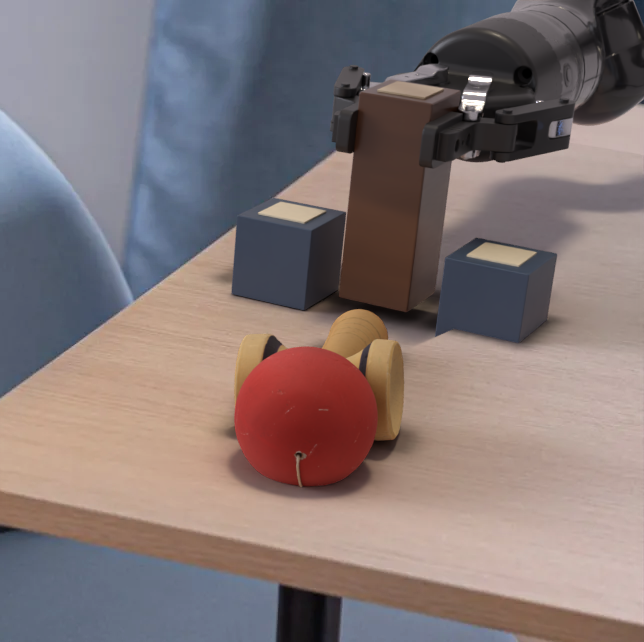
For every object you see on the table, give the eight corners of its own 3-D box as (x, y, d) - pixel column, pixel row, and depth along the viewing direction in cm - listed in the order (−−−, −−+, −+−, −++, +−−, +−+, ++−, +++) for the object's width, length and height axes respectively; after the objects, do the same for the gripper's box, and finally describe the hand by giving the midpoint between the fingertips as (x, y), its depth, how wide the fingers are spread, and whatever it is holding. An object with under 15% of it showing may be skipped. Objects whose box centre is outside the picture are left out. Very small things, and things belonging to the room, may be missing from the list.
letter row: (230, 294, 98) (236, 213, 96) (267, 274, 101) (273, 195, 99) (516, 358, 90) (529, 272, 88) (544, 334, 94) (558, 251, 92)
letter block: (367, 278, 98) (390, 76, 93) (435, 293, 96) (461, 88, 91) (337, 297, 95) (359, 89, 90) (407, 313, 93) (432, 101, 88)
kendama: (261, 379, 90) (180, 470, 73) (297, 260, 87) (222, 326, 71) (407, 427, 88) (359, 531, 72) (447, 307, 86) (407, 386, 69)
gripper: (610, 167, 101) (508, 238, 88) (381, 128, 107) (252, 188, 94) (633, 34, 98) (530, 86, 84) (394, 1, 104) (263, 45, 91)
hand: (384, 139), depth 89 cm, fingers closed on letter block, 4 cm apart
